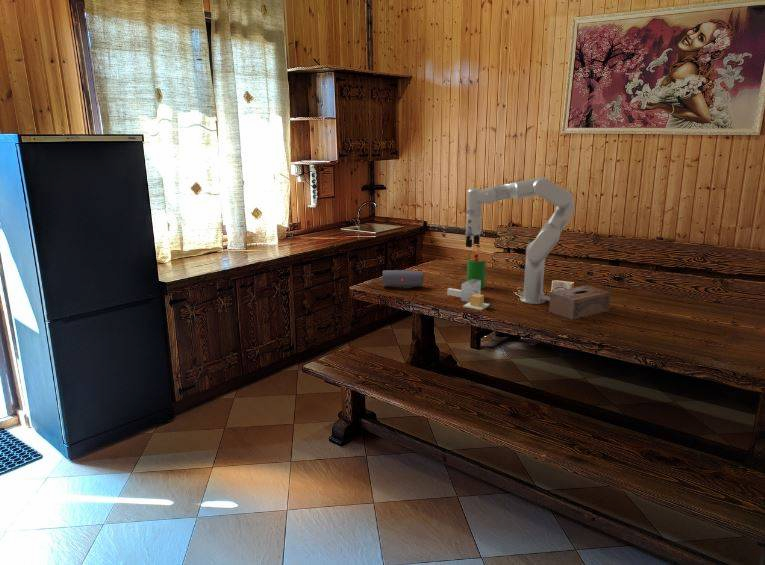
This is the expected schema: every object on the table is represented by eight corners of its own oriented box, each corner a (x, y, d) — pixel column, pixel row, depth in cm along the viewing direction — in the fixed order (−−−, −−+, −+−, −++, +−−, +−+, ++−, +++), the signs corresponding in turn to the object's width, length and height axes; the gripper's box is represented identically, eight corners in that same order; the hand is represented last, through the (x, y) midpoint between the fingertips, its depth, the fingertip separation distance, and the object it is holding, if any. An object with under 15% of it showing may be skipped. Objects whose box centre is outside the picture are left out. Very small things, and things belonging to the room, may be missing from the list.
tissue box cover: (585, 304, 281) (586, 285, 278) (608, 311, 269) (611, 292, 266) (548, 311, 268) (550, 292, 266) (572, 320, 256) (574, 299, 254)
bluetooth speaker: (381, 289, 308) (381, 271, 305) (383, 284, 317) (383, 268, 314) (422, 290, 305) (422, 273, 303) (423, 286, 314) (423, 269, 312)
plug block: (483, 304, 276) (483, 295, 275) (479, 307, 272) (479, 297, 271) (474, 303, 279) (474, 293, 278) (470, 305, 275) (470, 295, 274)
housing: (480, 296, 294) (481, 280, 291) (469, 302, 283) (470, 285, 281) (471, 294, 296) (472, 278, 294) (460, 300, 286) (461, 283, 284)
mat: (489, 305, 278) (489, 304, 277) (481, 310, 270) (481, 309, 269) (471, 302, 283) (471, 300, 283) (463, 307, 275) (463, 305, 275)
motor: (484, 285, 315) (485, 251, 310) (485, 289, 307) (487, 254, 301) (466, 284, 316) (467, 250, 311) (467, 289, 308) (468, 254, 302)
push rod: (474, 298, 290) (474, 292, 289) (472, 299, 288) (472, 293, 287) (449, 294, 298) (449, 288, 297) (447, 295, 296) (447, 289, 295)
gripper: (474, 215, 273) (472, 248, 277) (487, 211, 287) (485, 243, 291) (460, 214, 277) (459, 247, 281) (473, 210, 291) (472, 242, 295)
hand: (472, 245), depth 286 cm, fingers open, 9 cm apart
